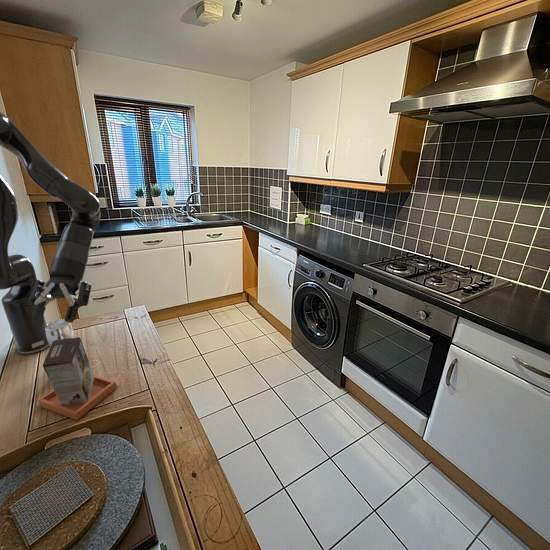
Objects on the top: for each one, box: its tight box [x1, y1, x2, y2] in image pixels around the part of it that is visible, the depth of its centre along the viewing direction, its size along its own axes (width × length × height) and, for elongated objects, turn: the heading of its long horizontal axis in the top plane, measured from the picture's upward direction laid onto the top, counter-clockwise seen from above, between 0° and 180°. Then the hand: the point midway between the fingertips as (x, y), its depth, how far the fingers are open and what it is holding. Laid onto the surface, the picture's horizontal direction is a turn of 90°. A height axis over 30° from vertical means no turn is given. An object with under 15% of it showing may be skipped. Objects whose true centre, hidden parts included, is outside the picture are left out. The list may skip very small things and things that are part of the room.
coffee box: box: [42, 336, 95, 407], centre depth 77 cm, size 9×6×16 cm
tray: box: [37, 374, 118, 421], centre depth 81 cm, size 14×13×2 cm
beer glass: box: [44, 318, 76, 348], centre depth 92 cm, size 7×7×15 cm
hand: (52, 321), depth 73 cm, fingers open, 8 cm apart
